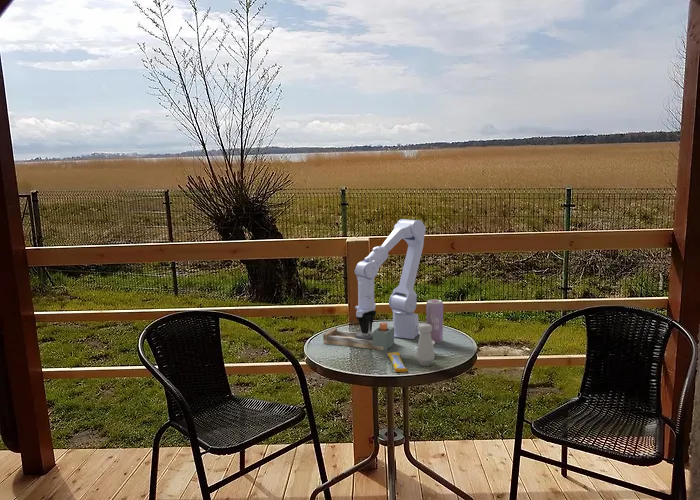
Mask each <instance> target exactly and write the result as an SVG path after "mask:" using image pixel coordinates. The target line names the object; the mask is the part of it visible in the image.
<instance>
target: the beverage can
mask: <svg viewBox="0 0 700 500" xmlns="http://www.w3.org/2000/svg"><path fill="white" fill-rule="evenodd" d="M425 310H426V311H425V312H426V314H425V315H426V320H425V322H426V323H425V324H430V325H431V326H432V332H430V334H431V340H433V341H435V344H441V343H442V342H443V338H444V337H443V333H444V303H443V300H440V299H435V298H433V299H428V300H426V309H425Z"/></svg>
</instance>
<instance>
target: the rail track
mask: <svg viewBox="0 0 700 500" xmlns="http://www.w3.org/2000/svg"><path fill="white" fill-rule="evenodd" d="M358 333H359V332H355V331H346V330H338V328H336V327H333V328H331V329H329V330H328V331H327V332H324V333H323V335H322V337H323V338H322V339H323V341H322V342H323V344H328V345H338V346H346V347H353V348H354V347H355V348H363V349H371V350H378V349H379V351H384V350H383V347H381V346H377V347H376V346H373V340H366V339H357V338H355V335H357V334H358ZM373 348H374V349H373ZM380 349H381V350H380Z"/></svg>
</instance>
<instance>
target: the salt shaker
mask: <svg viewBox="0 0 700 500" xmlns="http://www.w3.org/2000/svg"><path fill="white" fill-rule="evenodd" d="M430 332H432V326H431V325H430V324H426V323H421V324H420V323H419V338H418V341H419V343H418V342H417V343H418V344H417V349H416V355H415V357H416V360H417V362H418V365H419V366H421V365H422V366H421V367H429V366H428V365H431V366H432V363H433V362H434V360H435V355H434V352H435V351H434V345H432V340H431V334H430Z"/></svg>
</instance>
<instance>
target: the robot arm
mask: <svg viewBox="0 0 700 500" xmlns="http://www.w3.org/2000/svg"><path fill="white" fill-rule="evenodd" d="M426 230H427V228H426V226H425V224H424V222H423V221H422V220H420V219H405V218H400V219H399V220H397V223H395V224H394V228H393V229H392V231H391V233H390V234H389V235H388V236H387V238H386V239H385V240H384V241H383V243H382V244H381V245H379V246H377V245H376V246H375V247H373V248H372V249H371V250H372V251H371V252H370V253H369V254H368V255H367V256H366V257H364V260H360V261H359V262H358V263H357V264H356V266H355V269H354V274H355V275H356V280H357V294H358V295H357V298H358V299H357V300H358V301H357V302H358V303H357V304H358V305H356V306H354V309H356V311H355V318H356V319H357V320H358V323H359V326H360V332H362V333H365V334H367V333H368V331H369V323H370V332H371V331H372V328H373V322H374V320H375V319H374V318H375V317H376V315H377V310H376V308H377V307H376V305H377V304H376V302H375V278H376V277H377V276H378V274H379V273H378V272H379V269H380V267H381V265H382V264H384V262H385V261H386V260H387V259H388V258H389V252H390V251H391V250H392V249H393V248H394V247H395V246H396V245H398V243H399V242H400V241H401V240H402V239H403V240H404V241H405V243H407V249H406V255H405V258H404V262H403V267H402V272H401V275H400V279H399V284H398V286H396V287H395V288H393V290H392V293H391V295H390V297H389V299H388V306H389V307H390V309H391V311H392V327H394V338H402V339H409V340H414V339H415V338H416V337H418V335H420V332H419V325H420V323H419V321H420V320H419V314H418V313H415V310H416V309H417V304H418V303H417V297H418V294H417V293H416V291H415V290H414V286H415V284H416V283H415V282H416V279H417V274H418V270H419V266H420V261H421V256H422V253H423V248H424V243H425V234H426Z"/></svg>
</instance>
